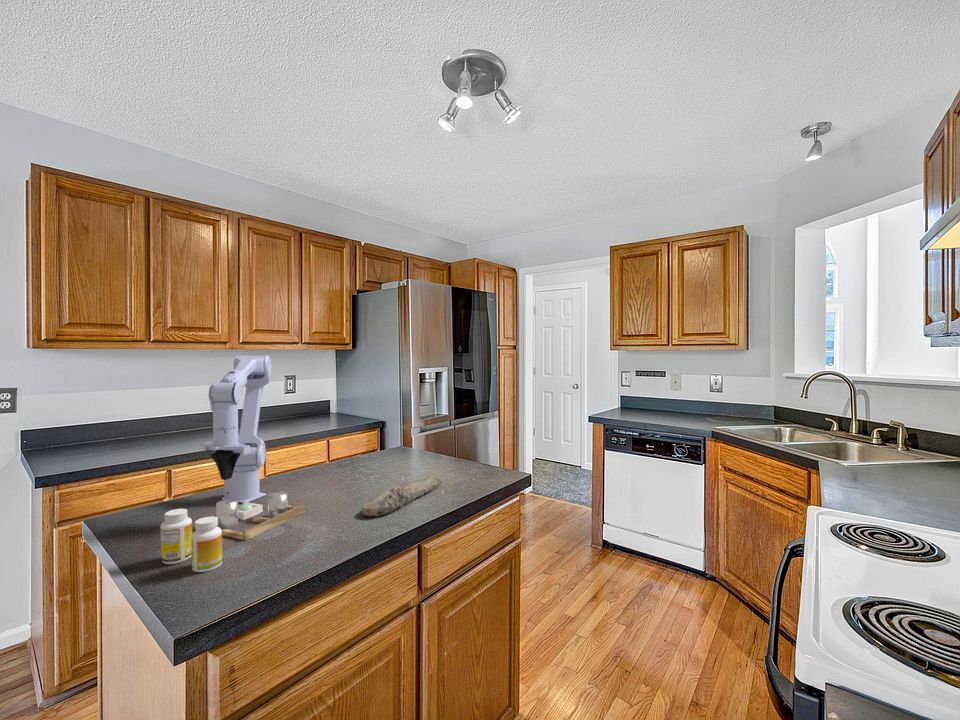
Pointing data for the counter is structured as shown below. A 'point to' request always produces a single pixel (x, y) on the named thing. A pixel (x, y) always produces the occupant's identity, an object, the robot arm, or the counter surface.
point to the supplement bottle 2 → (206, 545)
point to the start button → (245, 506)
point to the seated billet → (277, 503)
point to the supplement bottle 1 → (176, 537)
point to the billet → (227, 513)
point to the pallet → (265, 523)
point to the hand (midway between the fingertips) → (226, 478)
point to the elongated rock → (399, 496)
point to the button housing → (250, 511)
